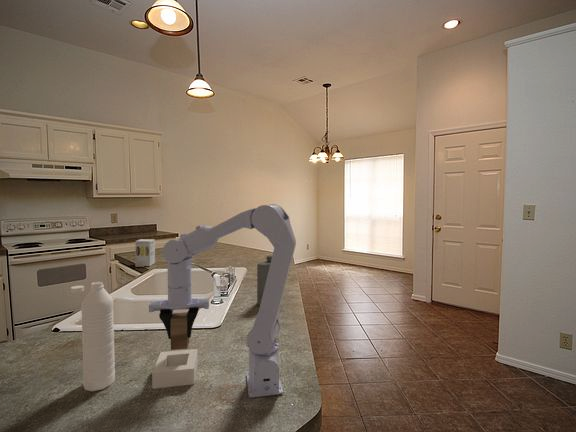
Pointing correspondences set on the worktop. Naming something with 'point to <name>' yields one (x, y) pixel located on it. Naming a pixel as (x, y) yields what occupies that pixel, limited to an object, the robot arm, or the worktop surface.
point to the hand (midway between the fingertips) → (180, 336)
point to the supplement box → (144, 252)
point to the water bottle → (97, 337)
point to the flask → (262, 277)
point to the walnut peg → (179, 331)
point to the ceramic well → (175, 368)
